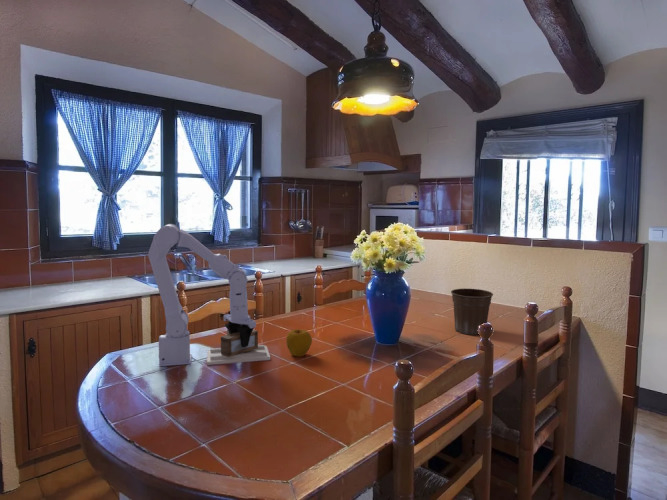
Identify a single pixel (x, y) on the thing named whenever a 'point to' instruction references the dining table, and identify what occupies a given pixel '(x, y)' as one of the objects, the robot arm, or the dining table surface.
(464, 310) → the plant pot
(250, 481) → the dining table surface
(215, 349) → the notch ledge
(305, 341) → the apple
